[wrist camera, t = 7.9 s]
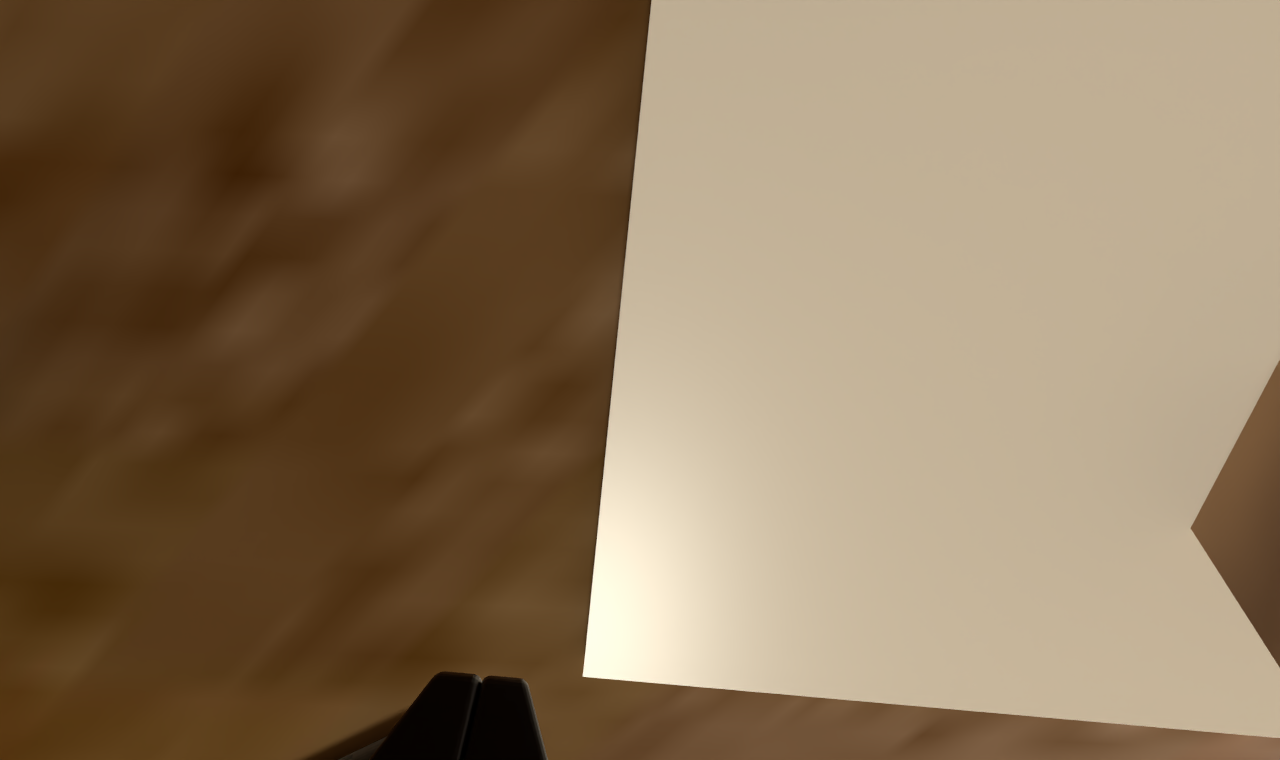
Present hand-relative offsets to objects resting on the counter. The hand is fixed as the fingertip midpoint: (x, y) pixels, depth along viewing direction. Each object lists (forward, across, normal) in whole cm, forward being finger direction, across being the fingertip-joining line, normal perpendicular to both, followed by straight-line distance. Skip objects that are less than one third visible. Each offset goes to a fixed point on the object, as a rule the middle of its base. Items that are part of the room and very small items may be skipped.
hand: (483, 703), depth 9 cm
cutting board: (+12, -12, +4) cm, 17 cm away
